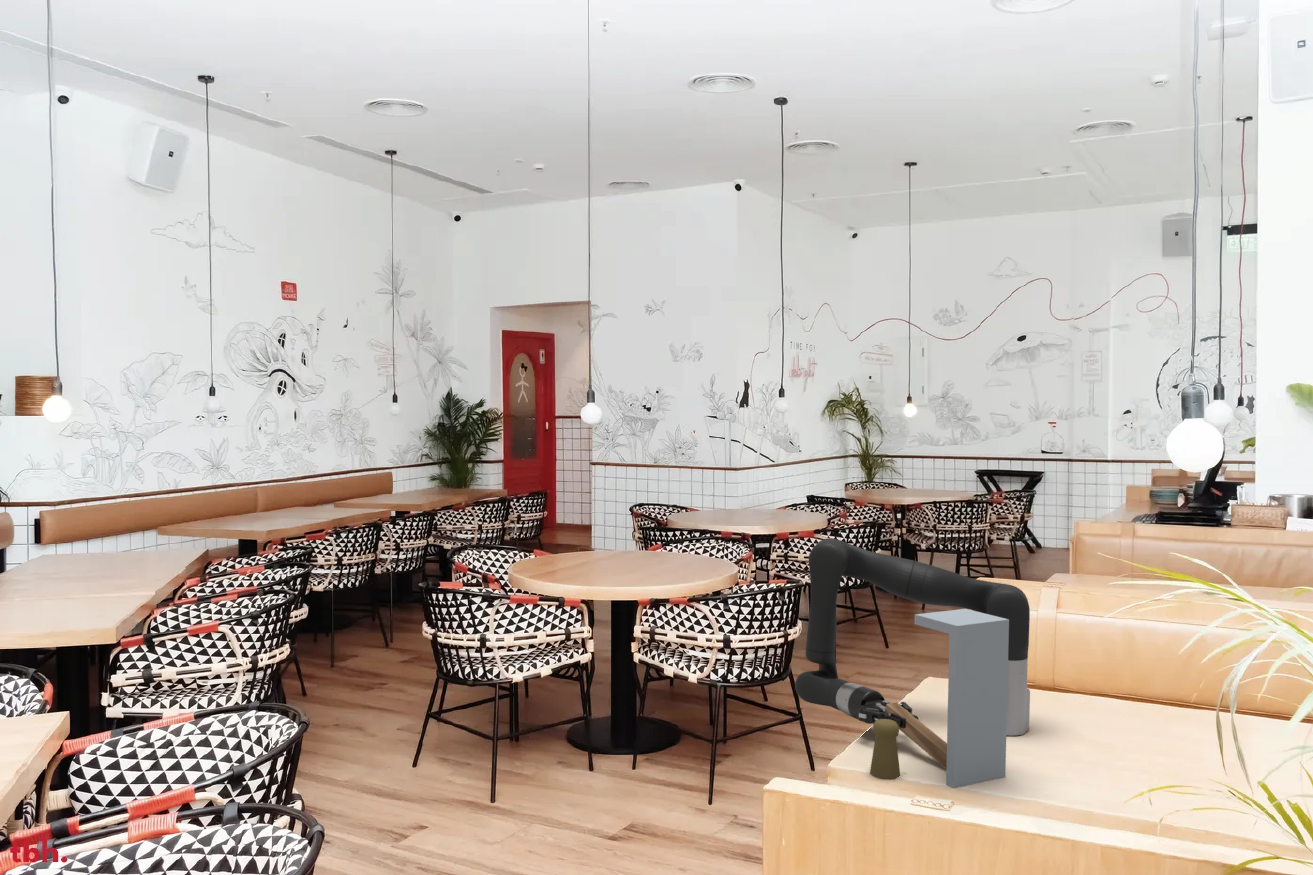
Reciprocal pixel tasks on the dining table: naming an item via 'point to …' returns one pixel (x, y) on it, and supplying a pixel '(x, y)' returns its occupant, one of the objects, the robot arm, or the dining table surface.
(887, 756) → the olive pawn
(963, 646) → the shelf stand
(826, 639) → the robot arm
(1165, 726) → the dining table surface
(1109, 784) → the dining table surface
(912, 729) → the walnut rod
